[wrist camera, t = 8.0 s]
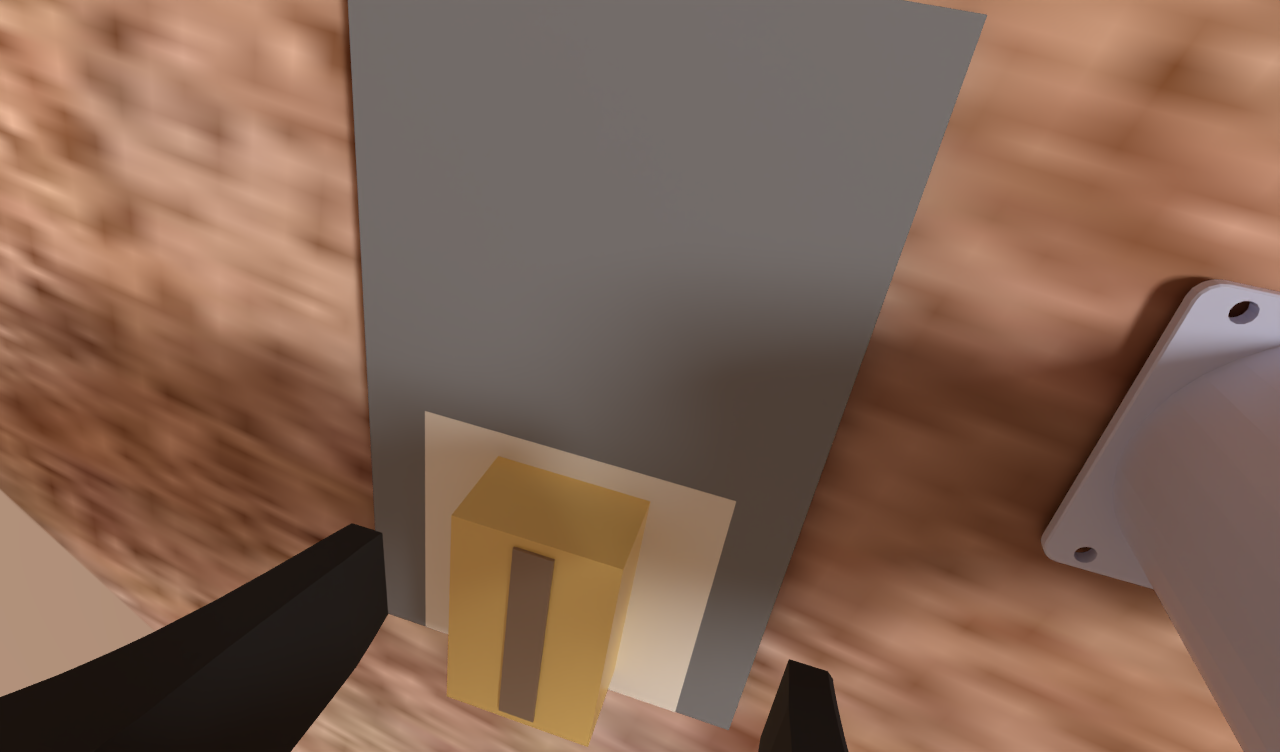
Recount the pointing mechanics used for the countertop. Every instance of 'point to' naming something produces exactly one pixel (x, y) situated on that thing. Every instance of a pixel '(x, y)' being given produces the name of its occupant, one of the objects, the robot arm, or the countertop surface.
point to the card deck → (540, 595)
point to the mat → (635, 277)
